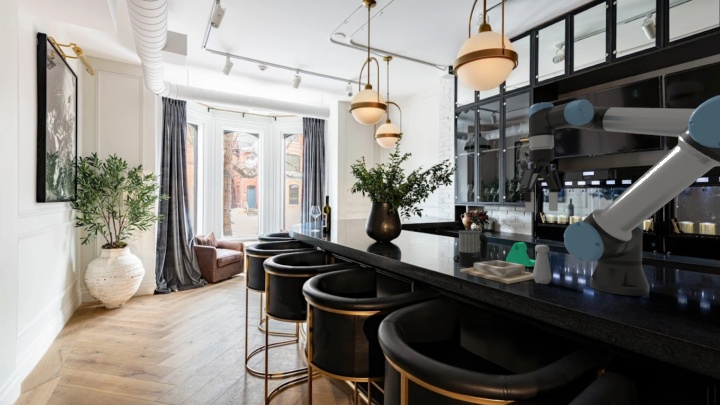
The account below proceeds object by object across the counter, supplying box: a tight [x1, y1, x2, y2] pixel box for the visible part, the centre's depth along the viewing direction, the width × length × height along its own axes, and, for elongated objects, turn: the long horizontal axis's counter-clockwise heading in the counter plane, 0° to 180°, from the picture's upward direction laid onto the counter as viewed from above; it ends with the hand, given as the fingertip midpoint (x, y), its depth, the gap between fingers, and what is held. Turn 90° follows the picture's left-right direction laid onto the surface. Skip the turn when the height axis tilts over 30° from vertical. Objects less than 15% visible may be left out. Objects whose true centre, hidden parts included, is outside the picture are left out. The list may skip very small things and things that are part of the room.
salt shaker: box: [532, 244, 552, 285], centre depth 122 cm, size 6×6×13 cm
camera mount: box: [505, 241, 536, 268], centre depth 152 cm, size 12×8×10 cm, turn 23°
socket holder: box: [459, 259, 534, 285], centre depth 134 cm, size 22×18×4 cm
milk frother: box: [453, 230, 488, 268], centre depth 156 cm, size 14×16×15 cm
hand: (541, 211), depth 121 cm, fingers open, 13 cm apart
